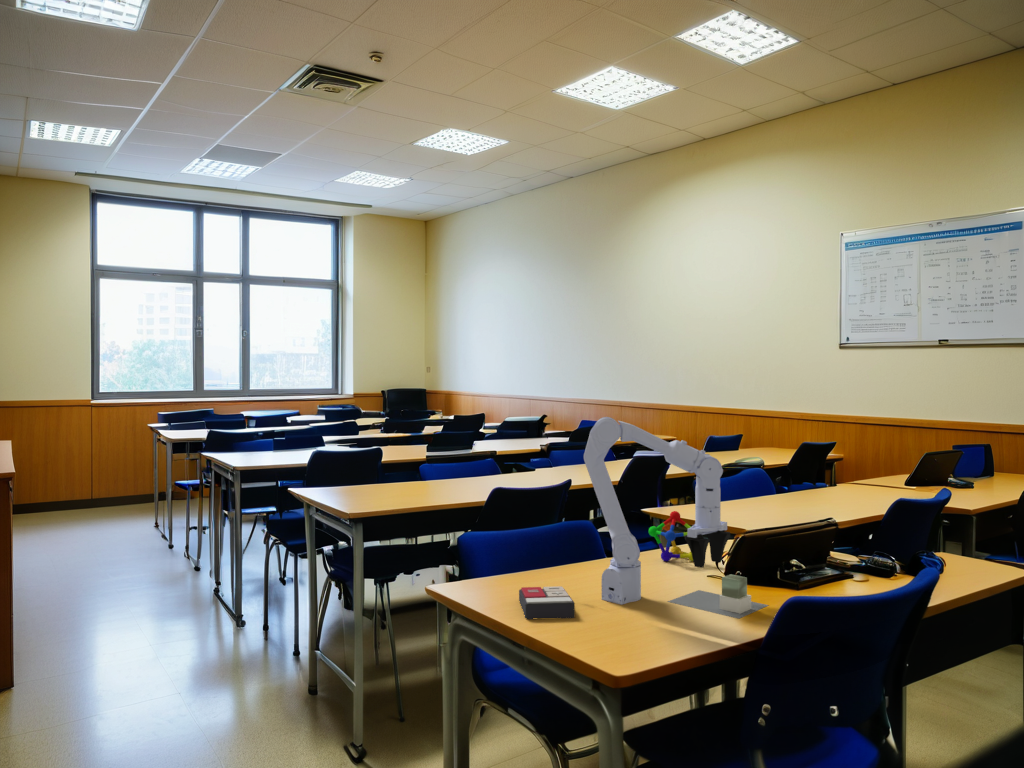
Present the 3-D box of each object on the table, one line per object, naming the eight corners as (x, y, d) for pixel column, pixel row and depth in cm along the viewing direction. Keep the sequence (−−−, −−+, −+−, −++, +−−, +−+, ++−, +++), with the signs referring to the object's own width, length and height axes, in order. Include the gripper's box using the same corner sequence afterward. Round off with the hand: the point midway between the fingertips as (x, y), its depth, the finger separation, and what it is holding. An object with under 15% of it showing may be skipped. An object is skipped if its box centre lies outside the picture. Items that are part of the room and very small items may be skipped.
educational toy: (642, 563, 213) (639, 512, 215) (671, 557, 221) (667, 508, 222) (683, 567, 201) (679, 514, 202) (712, 561, 209) (708, 510, 210)
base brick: (740, 613, 157) (740, 599, 157) (719, 608, 160) (719, 595, 160) (751, 608, 160) (751, 595, 160) (730, 604, 164) (730, 591, 164)
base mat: (739, 623, 153) (738, 618, 153) (667, 605, 166) (667, 601, 166) (768, 609, 163) (768, 605, 163) (698, 594, 176) (698, 590, 176)
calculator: (563, 584, 172) (574, 599, 157) (564, 603, 172) (575, 619, 157) (518, 586, 171) (525, 600, 156) (518, 604, 171) (525, 620, 156)
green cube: (738, 598, 157) (738, 580, 158) (721, 595, 160) (721, 577, 160) (746, 595, 160) (746, 577, 160) (730, 591, 163) (730, 574, 163)
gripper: (706, 511, 160) (706, 572, 159) (738, 505, 170) (738, 562, 170) (679, 508, 165) (679, 567, 165) (712, 502, 175) (712, 557, 175)
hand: (707, 564), depth 167 cm, fingers open, 7 cm apart
